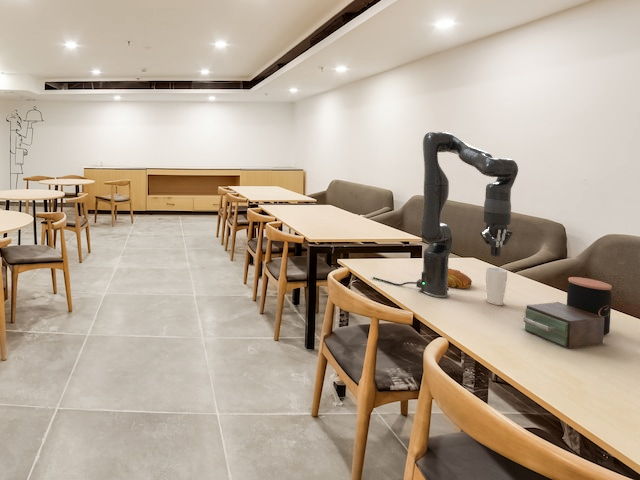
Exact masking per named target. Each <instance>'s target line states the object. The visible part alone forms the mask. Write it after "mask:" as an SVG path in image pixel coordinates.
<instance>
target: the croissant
mask: <svg viewBox="0 0 640 480" xmlns="http://www.w3.org/2000/svg"><path fill="white" fill-rule="evenodd" d="M472 283H473V281H472V279H471V278H470V277H469V276H468V275H466V274H465V273H464V272H461V271H460V270H458V269H452V268H449V267H448V286H447V287H451V288H455V289H457V290H458V289H460V290H461V289H469V288H470V287H471V286H472Z"/></svg>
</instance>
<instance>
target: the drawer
mask: <svg viewBox="0 0 640 480" xmlns="http://www.w3.org/2000/svg"><path fill="white" fill-rule="evenodd" d="M524 316H525V317H524V318H523V322H524V330H525V329H526V330H528V331H531V332H533V333H535V334H538V335H540V336H543V337H545V338H547V339H550V340H552V341H555V342H557V343H559V344H562V345H564V346H566V345H567V337H568V322H565V321H563V320H560V319H557V318H554V317H552V316H549V315H546V314H544V313H541V312H538V311H535V310H531V309H529V308H525V315H524ZM526 330H525V331H526ZM528 331H527V332H528ZM533 333H532V334H533ZM535 334H534V335H535ZM538 335H537V336H538ZM540 336H539V337H540ZM545 338H544V339H545ZM547 339H546V340H547ZM552 341H551V342H552ZM557 343H556V344H557ZM559 344H558V345H559ZM564 346H563V347H564Z"/></svg>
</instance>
